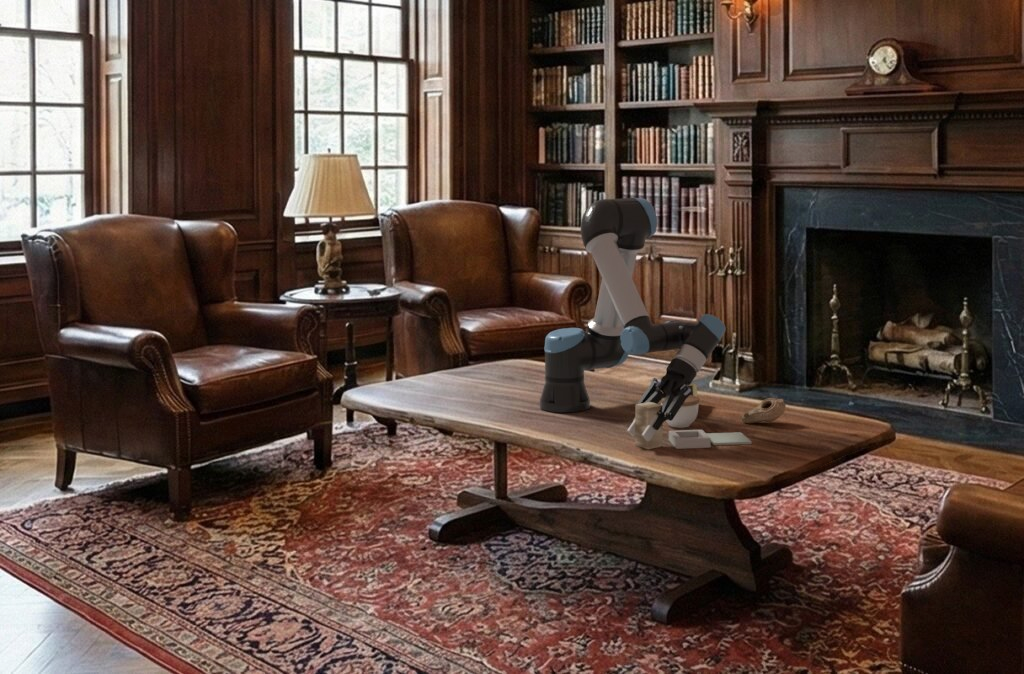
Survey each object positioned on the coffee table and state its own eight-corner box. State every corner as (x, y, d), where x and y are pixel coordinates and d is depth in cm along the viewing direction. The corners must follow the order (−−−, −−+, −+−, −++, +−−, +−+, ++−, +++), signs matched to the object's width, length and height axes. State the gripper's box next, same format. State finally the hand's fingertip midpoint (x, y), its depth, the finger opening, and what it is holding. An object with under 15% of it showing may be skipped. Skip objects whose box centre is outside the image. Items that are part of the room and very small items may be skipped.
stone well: (676, 448, 292) (676, 439, 292) (668, 439, 301) (668, 430, 301) (710, 447, 293) (710, 438, 293) (701, 438, 302) (702, 429, 302)
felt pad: (714, 445, 295) (714, 443, 295) (704, 435, 305) (704, 433, 305) (751, 443, 296) (751, 441, 296) (740, 434, 306) (740, 432, 306)
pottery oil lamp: (741, 418, 323) (741, 394, 322) (784, 420, 321) (784, 395, 320) (741, 426, 315) (741, 401, 313) (785, 427, 312) (786, 402, 311)
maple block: (635, 445, 296) (635, 404, 294) (649, 442, 299) (649, 401, 297) (647, 449, 292) (648, 407, 290) (662, 446, 295) (662, 405, 293)
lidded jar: (656, 428, 314) (656, 395, 312) (665, 419, 324) (665, 387, 322) (694, 431, 310) (694, 397, 309) (702, 422, 320) (702, 389, 318)
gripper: (716, 379, 294) (669, 451, 287) (669, 369, 308) (623, 437, 302) (702, 362, 290) (653, 434, 283) (655, 352, 304) (607, 420, 298)
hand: (638, 435), depth 293 cm, fingers closed on maple block, 5 cm apart
